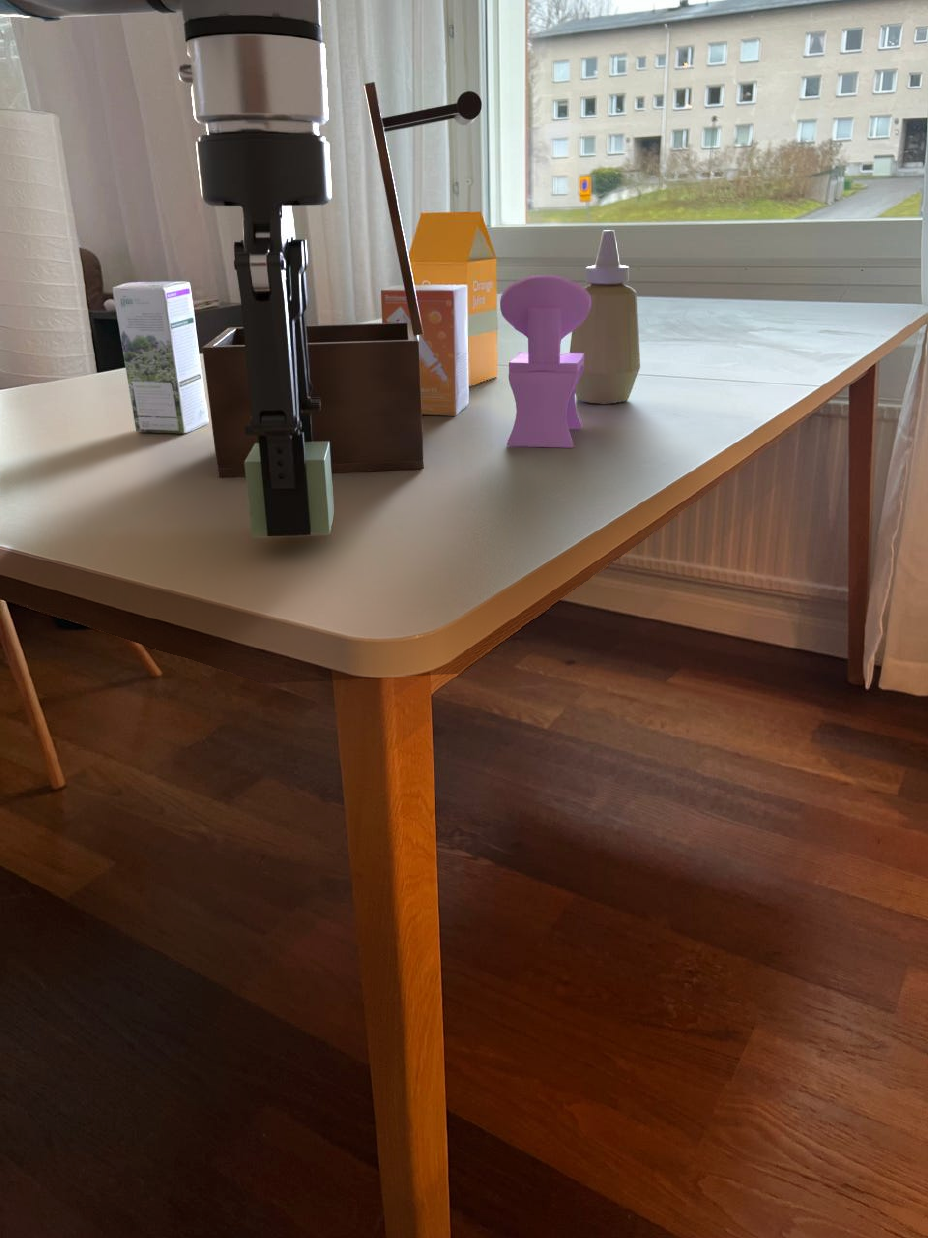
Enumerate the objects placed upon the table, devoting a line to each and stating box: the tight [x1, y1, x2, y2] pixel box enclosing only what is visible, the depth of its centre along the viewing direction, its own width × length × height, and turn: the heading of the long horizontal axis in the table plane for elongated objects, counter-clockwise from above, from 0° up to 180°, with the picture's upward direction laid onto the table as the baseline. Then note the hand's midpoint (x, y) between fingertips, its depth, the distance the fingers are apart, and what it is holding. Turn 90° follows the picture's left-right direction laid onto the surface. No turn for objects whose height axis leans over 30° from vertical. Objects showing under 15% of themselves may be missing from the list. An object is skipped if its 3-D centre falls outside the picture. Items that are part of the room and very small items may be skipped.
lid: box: [363, 81, 483, 336], centre depth 81 cm, size 18×14×9 cm
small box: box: [380, 284, 470, 417], centre depth 104 cm, size 8×6×13 cm
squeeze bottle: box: [569, 229, 641, 404], centre depth 106 cm, size 8×8×18 cm
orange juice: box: [408, 211, 499, 387], centre depth 120 cm, size 8×9×20 cm
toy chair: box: [499, 274, 591, 449], centre depth 90 cm, size 8×9×15 cm
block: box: [244, 441, 335, 538], centre depth 63 cm, size 5×5×5 cm
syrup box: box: [111, 281, 210, 435], centre depth 98 cm, size 6×6×14 cm
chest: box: [201, 322, 425, 478], centre depth 87 cm, size 18×14×11 cm
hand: (293, 519), depth 64 cm, fingers closed on block, 5 cm apart
